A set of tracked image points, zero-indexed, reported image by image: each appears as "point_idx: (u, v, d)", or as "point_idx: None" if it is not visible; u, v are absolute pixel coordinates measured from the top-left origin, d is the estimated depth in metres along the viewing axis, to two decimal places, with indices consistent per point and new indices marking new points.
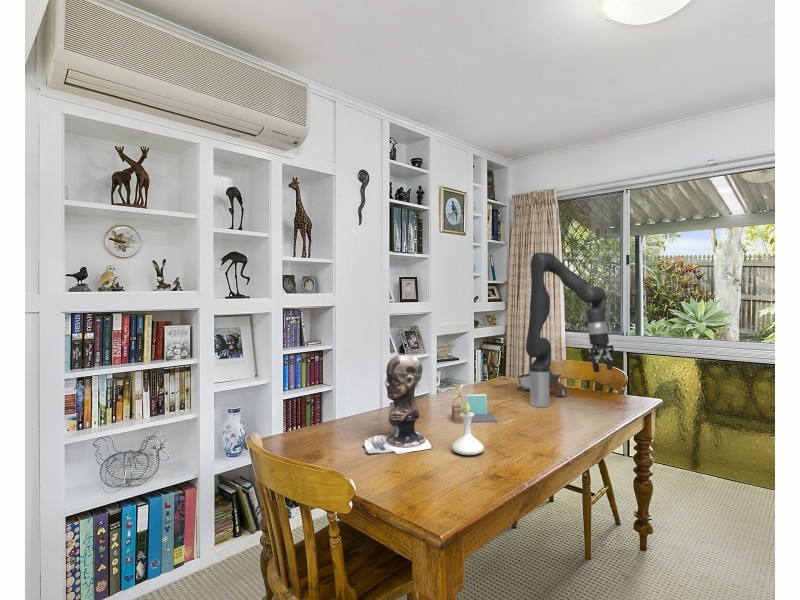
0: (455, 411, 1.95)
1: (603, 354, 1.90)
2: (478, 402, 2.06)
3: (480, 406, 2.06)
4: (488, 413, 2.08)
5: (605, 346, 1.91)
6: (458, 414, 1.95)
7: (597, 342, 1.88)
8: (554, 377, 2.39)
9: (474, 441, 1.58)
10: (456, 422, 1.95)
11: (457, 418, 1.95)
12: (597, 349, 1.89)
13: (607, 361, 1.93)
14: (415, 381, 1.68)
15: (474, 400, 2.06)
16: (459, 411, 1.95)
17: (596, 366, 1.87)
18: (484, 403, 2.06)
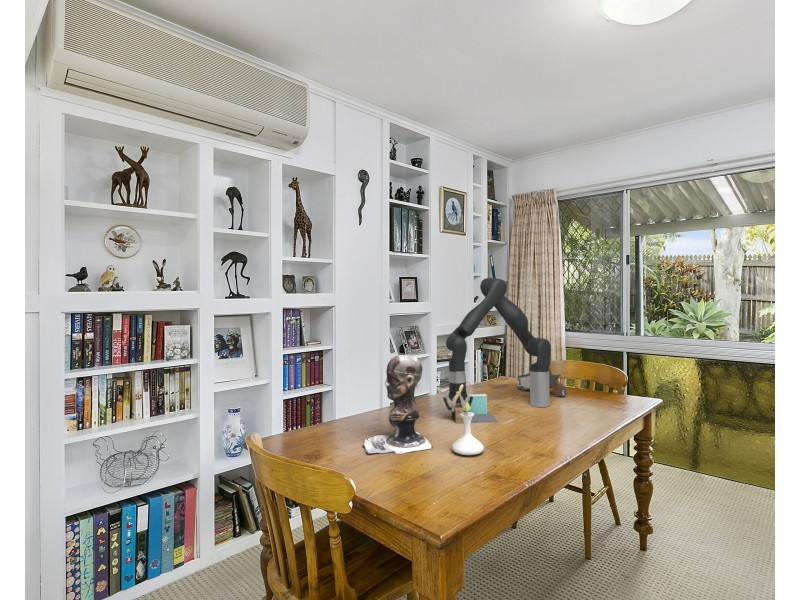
0: (456, 411, 1.95)
1: (458, 401, 1.99)
2: (478, 402, 2.06)
3: (480, 406, 2.06)
4: (488, 413, 2.08)
5: (462, 394, 1.98)
6: (459, 414, 1.95)
7: (450, 390, 1.98)
8: (554, 377, 2.39)
9: (474, 441, 1.58)
10: (457, 422, 1.95)
11: (458, 418, 1.95)
12: (450, 398, 1.99)
13: None
14: (415, 381, 1.68)
15: (474, 400, 2.06)
16: (460, 411, 1.95)
17: (452, 414, 1.99)
18: (484, 403, 2.06)
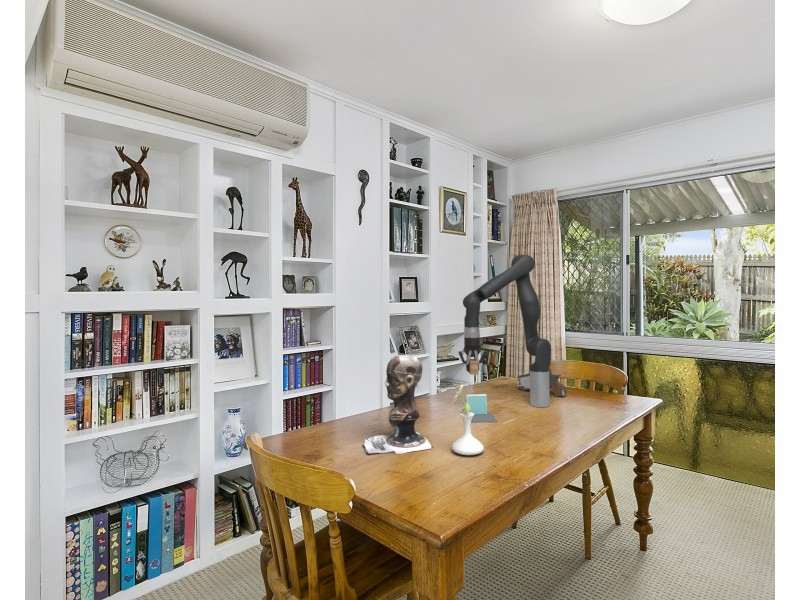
0: (471, 363, 2.11)
1: (472, 355, 2.15)
2: (478, 402, 2.06)
3: (480, 406, 2.06)
4: (488, 413, 2.08)
5: (476, 348, 2.15)
6: (474, 366, 2.11)
7: (465, 345, 2.15)
8: (554, 377, 2.39)
9: (474, 441, 1.58)
10: (472, 373, 2.11)
11: (473, 369, 2.11)
12: (465, 352, 2.15)
13: None
14: (415, 381, 1.68)
15: (474, 400, 2.06)
16: (475, 363, 2.11)
17: (467, 367, 2.16)
18: (484, 403, 2.06)
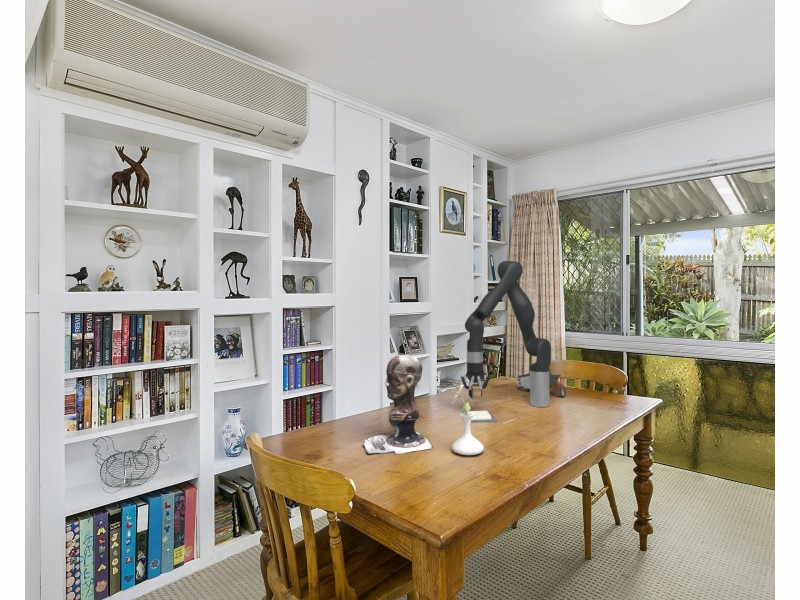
0: (474, 389, 2.04)
1: (475, 381, 2.08)
2: None
3: None
4: None
5: (479, 374, 2.08)
6: (477, 392, 2.04)
7: (468, 370, 2.07)
8: (554, 377, 2.39)
9: (474, 441, 1.58)
10: (475, 399, 2.04)
11: (476, 396, 2.04)
12: (468, 378, 2.08)
13: None
14: (415, 381, 1.68)
15: None
16: (478, 389, 2.04)
17: (469, 393, 2.08)
18: None
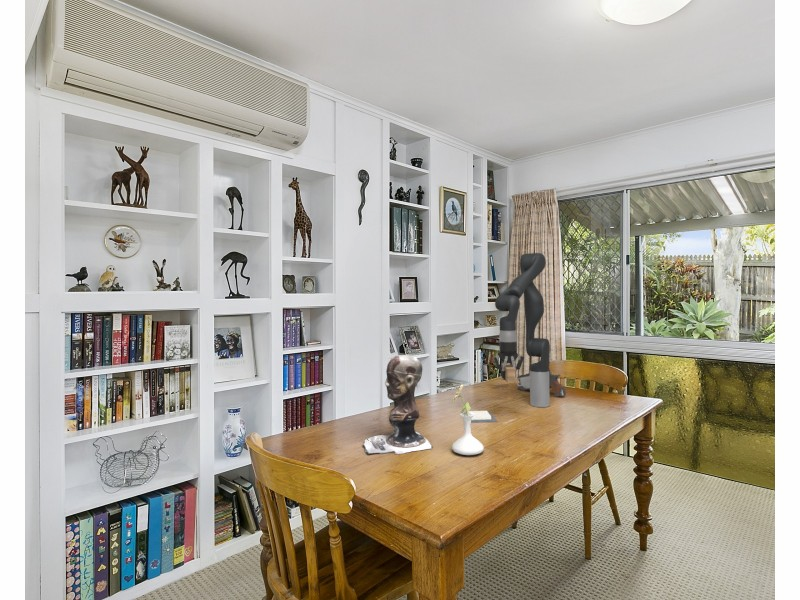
0: (508, 369, 1.93)
1: (509, 361, 1.97)
2: None
3: None
4: None
5: (513, 354, 1.97)
6: (511, 373, 1.93)
7: (501, 349, 1.97)
8: (553, 377, 2.39)
9: (474, 441, 1.58)
10: (509, 381, 1.93)
11: (510, 377, 1.93)
12: (501, 358, 1.97)
13: None
14: (415, 381, 1.68)
15: None
16: (512, 369, 1.93)
17: (502, 374, 1.98)
18: None
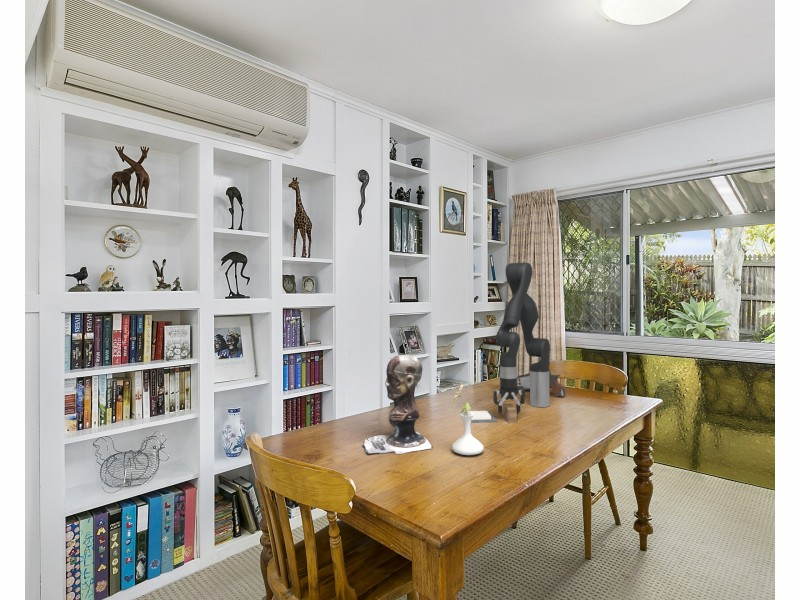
0: (509, 410, 1.94)
1: (509, 397, 1.98)
2: None
3: None
4: None
5: (513, 390, 1.98)
6: (512, 413, 1.94)
7: (501, 386, 1.97)
8: (553, 377, 2.39)
9: (474, 441, 1.58)
10: (510, 421, 1.94)
11: (511, 417, 1.94)
12: (501, 392, 1.98)
13: (516, 404, 1.99)
14: (415, 381, 1.68)
15: None
16: (513, 410, 1.94)
17: (499, 408, 1.98)
18: None
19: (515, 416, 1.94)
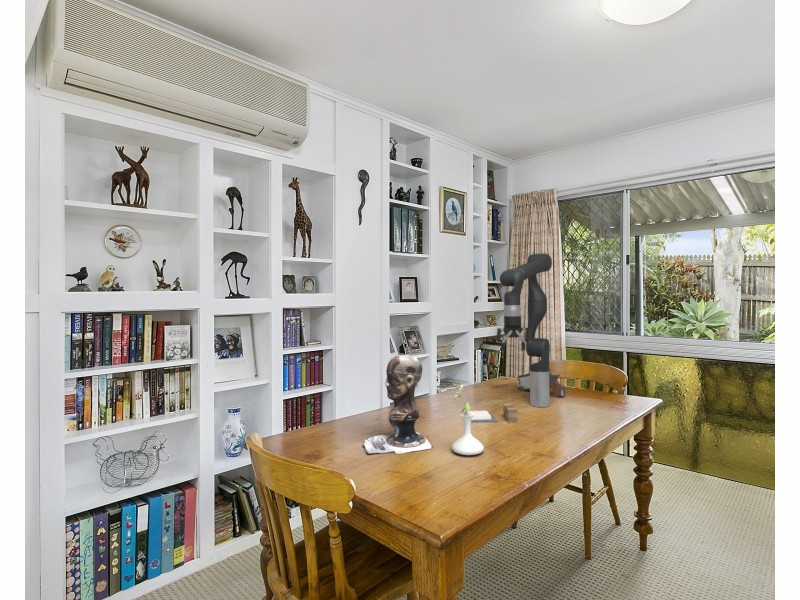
0: (509, 410, 1.94)
1: (513, 335, 2.00)
2: None
3: None
4: None
5: (517, 328, 2.00)
6: (512, 413, 1.94)
7: (506, 324, 1.99)
8: (553, 377, 2.39)
9: (474, 441, 1.58)
10: (510, 421, 1.94)
11: (511, 417, 1.94)
12: (506, 330, 2.00)
13: (521, 342, 2.02)
14: (415, 381, 1.68)
15: None
16: (513, 410, 1.94)
17: (502, 346, 2.00)
18: None
19: (515, 416, 1.94)
